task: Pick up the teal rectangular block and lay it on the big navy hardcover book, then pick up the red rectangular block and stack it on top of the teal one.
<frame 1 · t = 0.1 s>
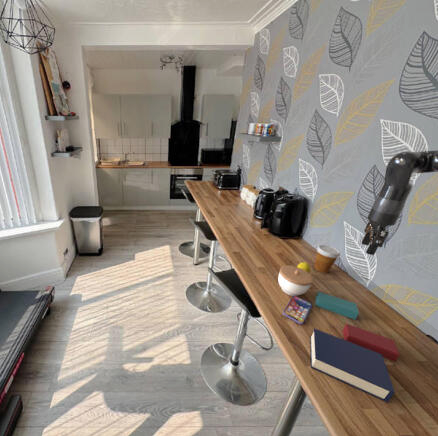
hand: (367, 249, 90), 26 cm above the table, tool pointing down, fingers open, 8 cm apart
smartphone: (297, 310, 95), on the table
red rectangular block: (366, 344, 81), on the table
big book: (343, 365, 74), on the table
teal rectangular block: (334, 308, 97), on the table
disposable coffee cup: (320, 269, 122), on the table
lidded bowl: (290, 290, 106), on the table
lemon: (300, 276, 116), on the table
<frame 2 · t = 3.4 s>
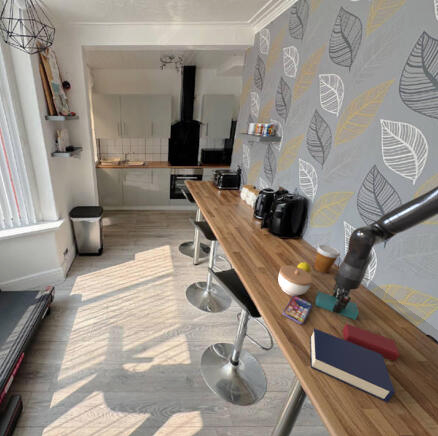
hand: (334, 306, 96), 1 cm above the table, tool pointing down, fingers closed on teal rectangular block, 6 cm apart
teal rectangular block: (334, 308, 97), on the table, touching gripper
everything else where it was.
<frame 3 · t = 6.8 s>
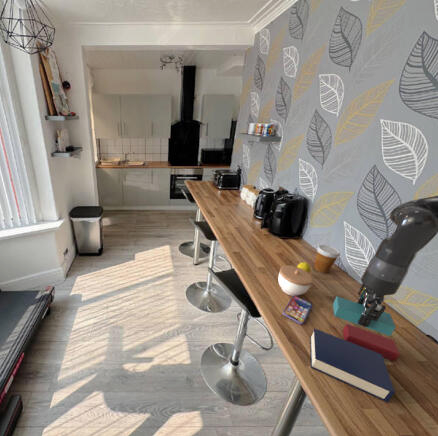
hand: (360, 317, 72), 16 cm above the table, tool pointing down, fingers closed on teal rectangular block, 6 cm apart
teal rectangular block: (359, 319, 72), point 15 cm above the table, touching gripper
everything else where it was.
when the fingers open (5 cm above the table, at t = 10.2 s): teal rectangular block stays where it is, resting on big book.
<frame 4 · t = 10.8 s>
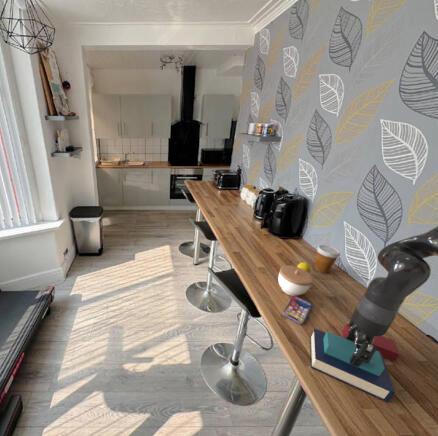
hand: (351, 352, 71), 6 cm above the table, tool pointing down, fingers open, 8 cm apart
teal rectangular block: (349, 356, 72), point 4 cm above the table, touching big book
everything else where it was.
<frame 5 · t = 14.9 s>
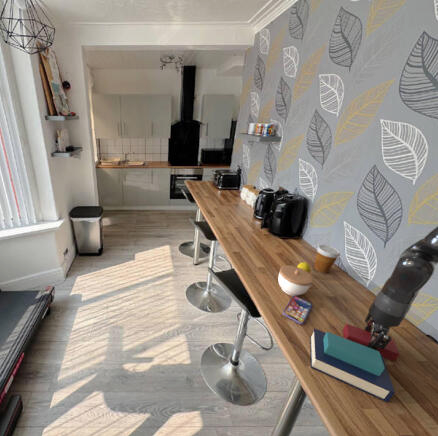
hand: (367, 343, 81), 1 cm above the table, tool pointing down, fingers closed on red rectangular block, 6 cm apart
red rectangular block: (366, 344, 81), on the table, touching gripper
everything else where it was.
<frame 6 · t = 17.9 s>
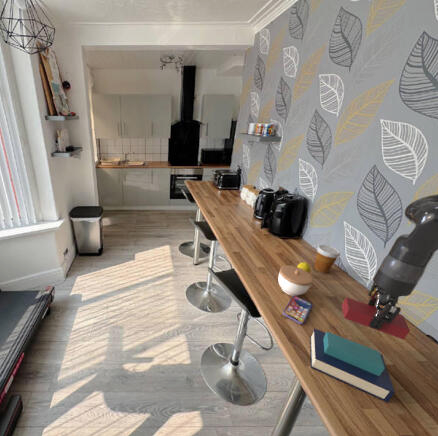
hand: (371, 319, 68), 18 cm above the table, tool pointing down, fingers closed on red rectangular block, 6 cm apart
red rectangular block: (370, 321, 69), point 17 cm above the table, touching gripper
everything else where it was.
when the fingers open (9 cm above the table, at t = 20.9 s): red rectangular block stays where it is, resting on teal rectangular block.
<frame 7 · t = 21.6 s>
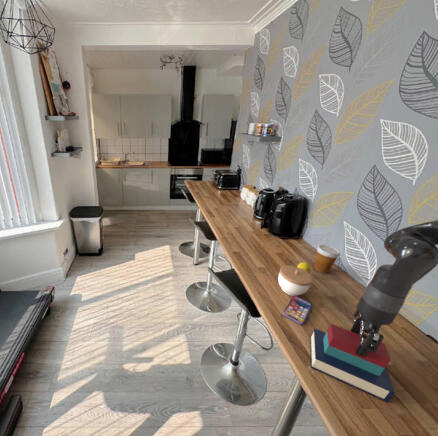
hand: (356, 343, 70), 10 cm above the table, tool pointing down, fingers open, 8 cm apart
red rectangular block: (353, 348, 71), point 8 cm above the table, touching teal rectangular block
teal rectangular block: (349, 356, 72), point 4 cm above the table, touching big book, red rectangular block
everything else where it was.
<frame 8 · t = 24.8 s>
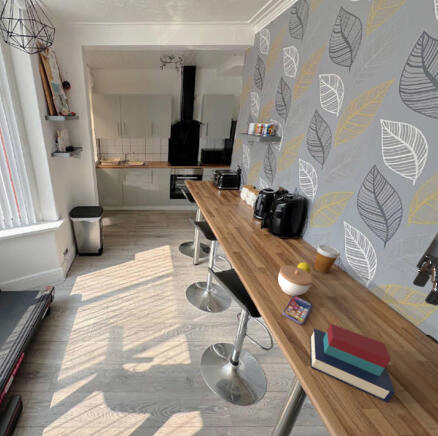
hand: (423, 293, 64), 28 cm above the table, tool pointing down, fingers open, 8 cm apart
nothing on the table moved.
at the end: teal rectangular block 0.1 cm off-centre on the big book, point 4.5 cm above the big book's base; red rectangular block 0.0 cm off-centre on the big book, point 8.0 cm above the big book's base; red rectangular block tilted 0° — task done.
